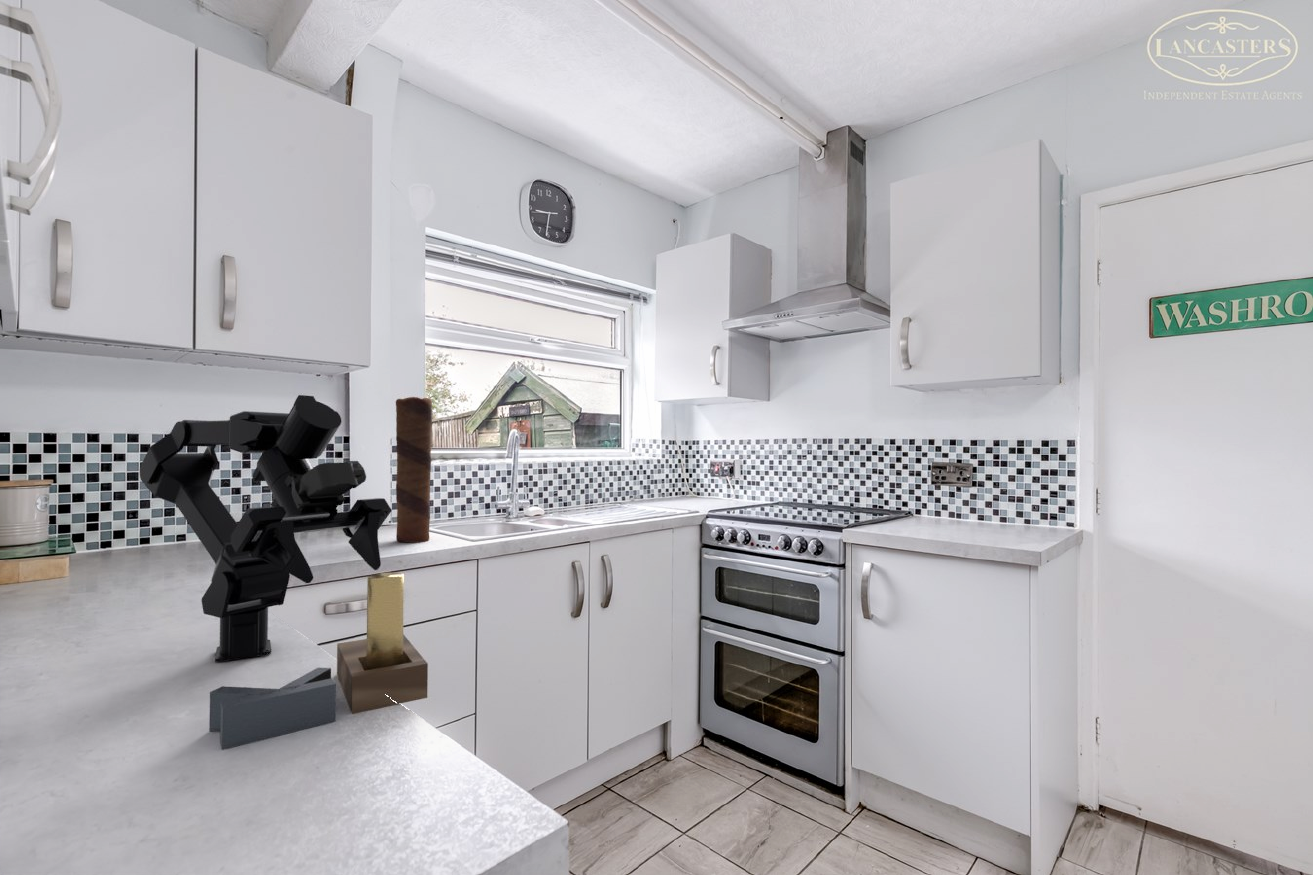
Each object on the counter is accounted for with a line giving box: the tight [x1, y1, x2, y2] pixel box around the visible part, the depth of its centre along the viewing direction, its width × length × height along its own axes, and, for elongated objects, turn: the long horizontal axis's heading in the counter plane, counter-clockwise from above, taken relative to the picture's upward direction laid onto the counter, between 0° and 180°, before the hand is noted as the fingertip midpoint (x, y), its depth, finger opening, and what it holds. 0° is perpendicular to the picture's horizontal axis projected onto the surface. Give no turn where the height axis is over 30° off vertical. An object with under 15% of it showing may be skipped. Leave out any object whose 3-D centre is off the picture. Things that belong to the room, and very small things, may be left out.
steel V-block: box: [208, 667, 337, 750], centre depth 66 cm, size 7×11×4 cm, turn 129°
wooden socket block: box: [336, 633, 429, 714], centre depth 77 cm, size 14×8×4 cm, turn 33°
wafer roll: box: [395, 396, 433, 543], centre depth 196 cm, size 10×11×45 cm
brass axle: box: [366, 572, 405, 670], centre depth 74 cm, size 4×4×14 cm
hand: (346, 574), depth 78 cm, fingers open, 9 cm apart
